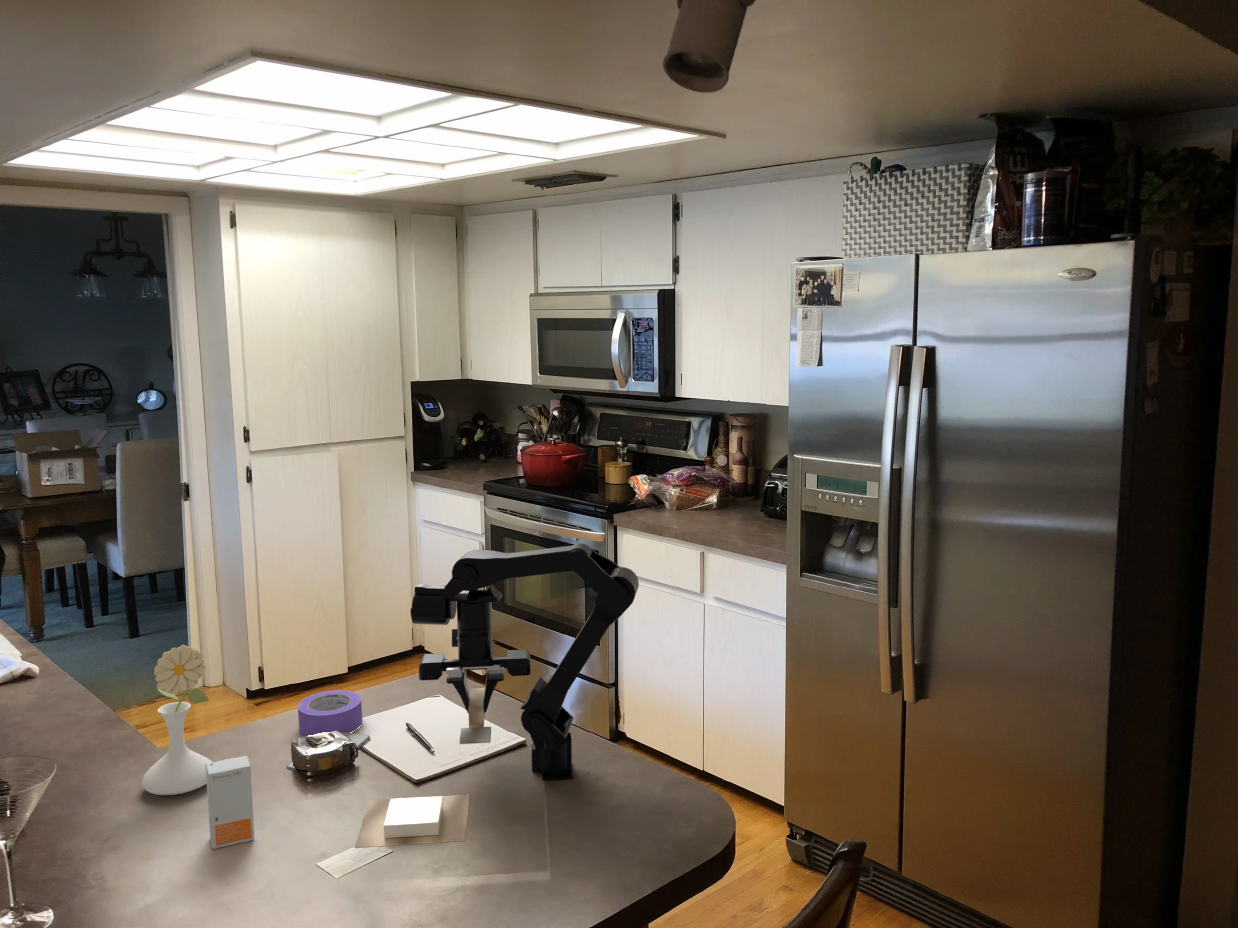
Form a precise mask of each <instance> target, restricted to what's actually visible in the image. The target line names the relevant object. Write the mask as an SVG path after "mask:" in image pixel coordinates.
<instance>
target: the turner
mask: <svg viewBox="0 0 1238 928" xmlns="http://www.w3.org/2000/svg"><path fill="white" fill-rule="evenodd" d="M484 696H485V687H479V688H478V687H477V688H476V687H475V688H470V693H469V698H470V700H469V708H468V712H469V713H468V727H461V728H460V734H459V745H472V744H475V745H476V744H488V743H489V744H490V743H491V740H492V726H485V715H486V712H485V713H484Z"/></svg>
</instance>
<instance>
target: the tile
mask: <svg viewBox="0 0 1238 928" xmlns="http://www.w3.org/2000/svg"><path fill="white" fill-rule="evenodd" d="M442 796H443V795H435V796H420V797H419V796H418V797H405V798H404V797H400V798H390V799H391V800H390V803H389V807H388V811H387V815H386V819H385V823H384V838H393V837H410V836H426V835H439V829H440V823H441V816H442V809H443V802H442Z"/></svg>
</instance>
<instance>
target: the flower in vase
mask: <svg viewBox="0 0 1238 928" xmlns="http://www.w3.org/2000/svg"><path fill="white" fill-rule="evenodd" d="M156 662H157V665H156V666H155V667H154V668H153V669H154V672H153V674H154V676H155V679H154V680H155V681H156V682H157V684H156V689H157V690H158V692H159V694H161V695H163V696H165V697H167V698H169V699H173V700H176V702H175V701H174V702H169V703H166V704H164V705H161V706H160V707H159V708H158V709H157V713H158V714H159V715H160V716H162V718H163V719H164V721H165V724H166V727H167V732H168V738H169V741H168V742H169V747H168V750H167V752H165V754H164V755H163V756H162V757H161V758H159V760H157V761H156V762H155V763H154V764H153V765H152V766H150V768H149V769H148V770H147V771H146V773H145V774H144V775H143V778H142V780H141V786H142V787H143V789H144V790H145V791H147V792H148V793H149V794H153V795H159V796H174V795H180V794H185V793H188V792H189V793H190V792H191V791H195V790H197V789H199V788H202V787H203V786H205V785H207V780H206V766H205V764H207V763H212V762H213V761H212V760H210V758H208V757H206V756H204V755H202V754H200V753H197V752H196V751H193V750H191V749H190V748H188V747H187V745H186V742H185V736H184V735H185V734H184V733H185V732H184V729H185V720H186V716H187V714H188V711H189V710H190V708H191V707H192V705H191V704H193V705H198V704H202V703H205V702H206V703H207V702H208V701H210V700H209V698H208V696H207V695H206V694H205V693H204V692H203V690H202V689H201V688H200V687H196V685H198V684H199V679H201V678H203V674H204V670H206V664H204V662H205V659H204V658H203V653H202V652H200V651H199V650H198V649H196V648H192V647H191V646H188V645H185V644H181V645H180V646H178V647H172V648H170V650H168V651H164V652H163V653H162V656H161V658H158V659H157V661H156ZM182 693H183V695H182V696H181V698H180V699H179V698H178V697H177V695H178V694H182ZM185 697H187V699H188V701H189V702H186V701H183V700H184V699H185Z"/></svg>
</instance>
